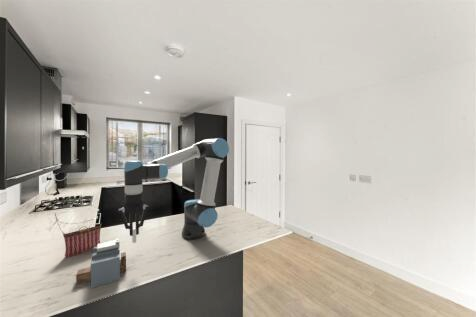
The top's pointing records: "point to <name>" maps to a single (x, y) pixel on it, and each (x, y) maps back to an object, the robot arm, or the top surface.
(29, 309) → the top surface
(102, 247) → the keeper
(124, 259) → the wooden bar
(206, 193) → the robot arm
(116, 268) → the block
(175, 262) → the top surface
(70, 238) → the handbag
